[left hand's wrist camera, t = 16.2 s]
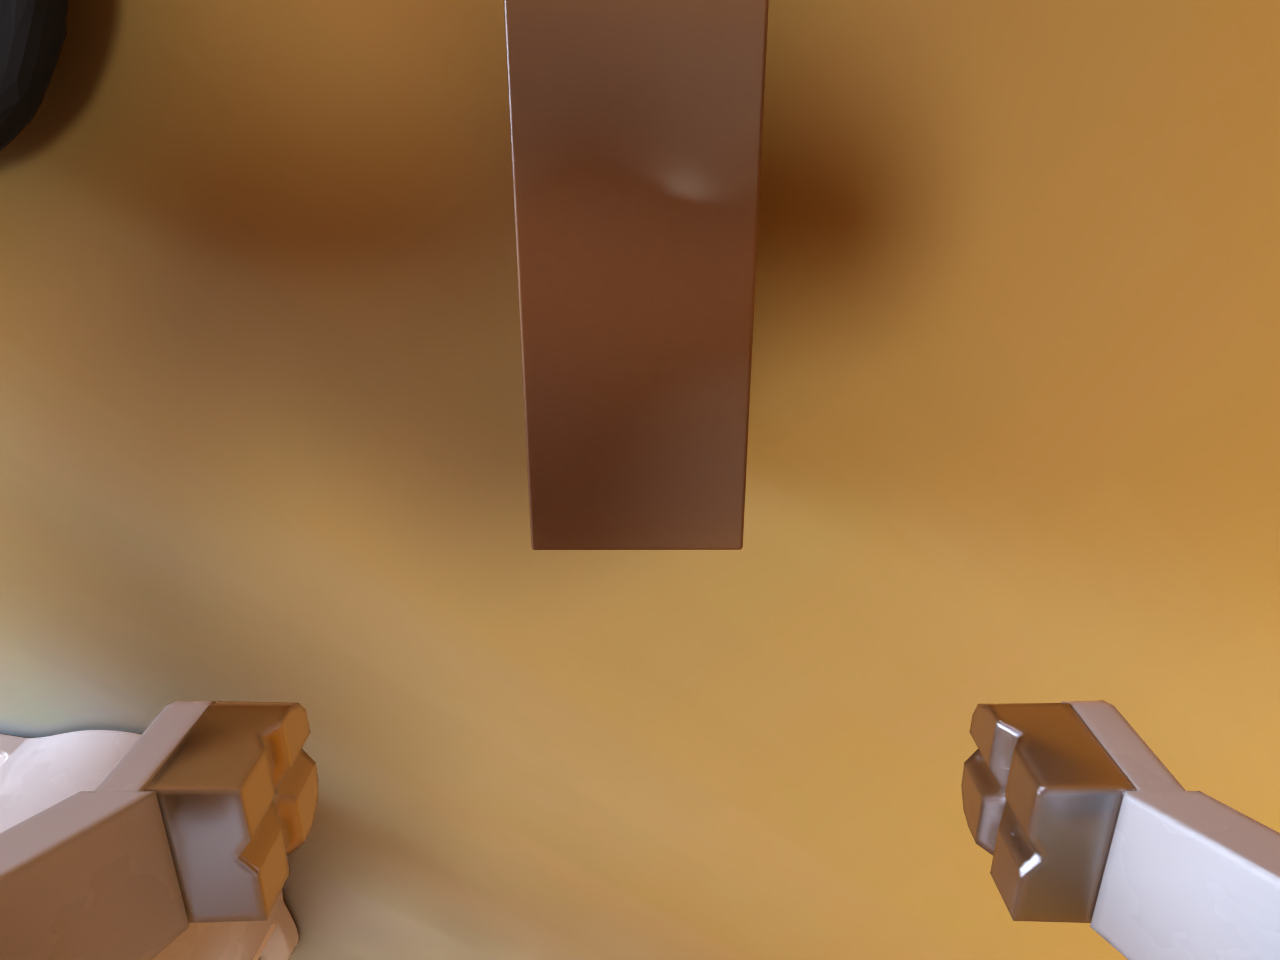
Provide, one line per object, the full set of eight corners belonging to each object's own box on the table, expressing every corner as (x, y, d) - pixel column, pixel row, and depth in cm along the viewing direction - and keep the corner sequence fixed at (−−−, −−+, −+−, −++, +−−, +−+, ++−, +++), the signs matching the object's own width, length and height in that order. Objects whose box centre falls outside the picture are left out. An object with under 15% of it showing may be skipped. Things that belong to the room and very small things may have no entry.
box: (714, 438, 35) (742, 550, 25) (560, 438, 35) (531, 551, 25) (740, -360, 26) (800, -654, 16) (531, -361, 26) (469, -654, 16)
